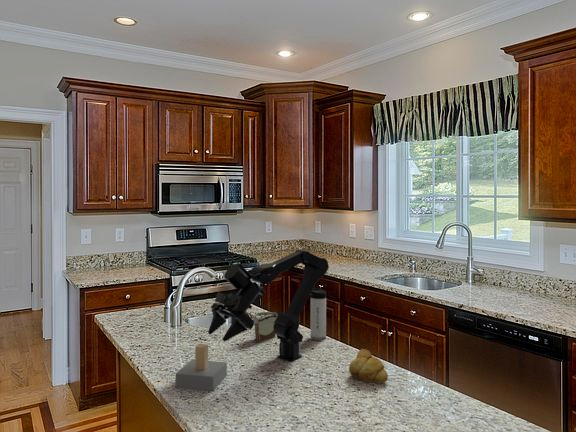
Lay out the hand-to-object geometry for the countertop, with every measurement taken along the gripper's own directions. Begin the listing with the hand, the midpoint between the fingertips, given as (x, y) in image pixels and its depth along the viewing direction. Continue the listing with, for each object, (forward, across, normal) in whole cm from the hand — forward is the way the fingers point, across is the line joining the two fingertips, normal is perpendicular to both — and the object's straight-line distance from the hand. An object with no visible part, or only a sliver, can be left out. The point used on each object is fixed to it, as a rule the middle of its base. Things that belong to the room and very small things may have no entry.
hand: (216, 337), depth 149 cm
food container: (-15, -24, +34) cm, 44 cm away
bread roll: (-17, +31, +36) cm, 50 cm away
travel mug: (-28, -10, +47) cm, 56 cm away
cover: (+13, 0, +6) cm, 14 cm away
